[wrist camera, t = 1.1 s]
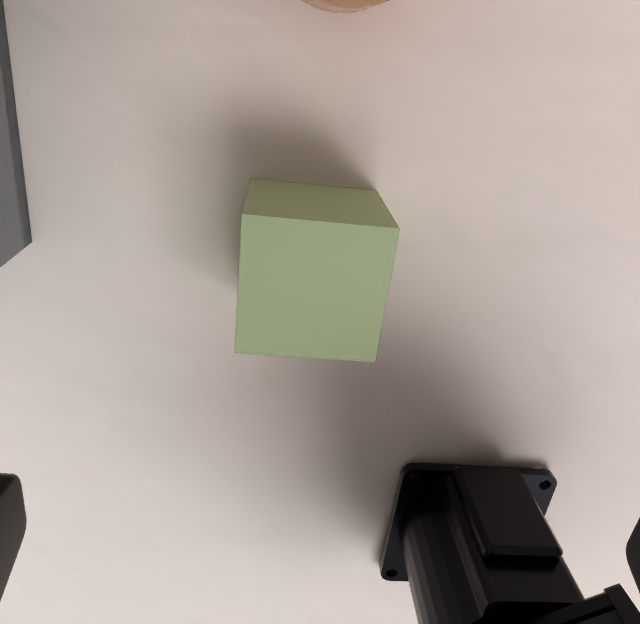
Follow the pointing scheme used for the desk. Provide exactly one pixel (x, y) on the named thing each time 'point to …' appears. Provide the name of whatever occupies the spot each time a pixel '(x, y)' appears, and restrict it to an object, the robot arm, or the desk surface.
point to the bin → (10, 163)
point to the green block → (313, 271)
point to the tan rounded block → (343, 5)
